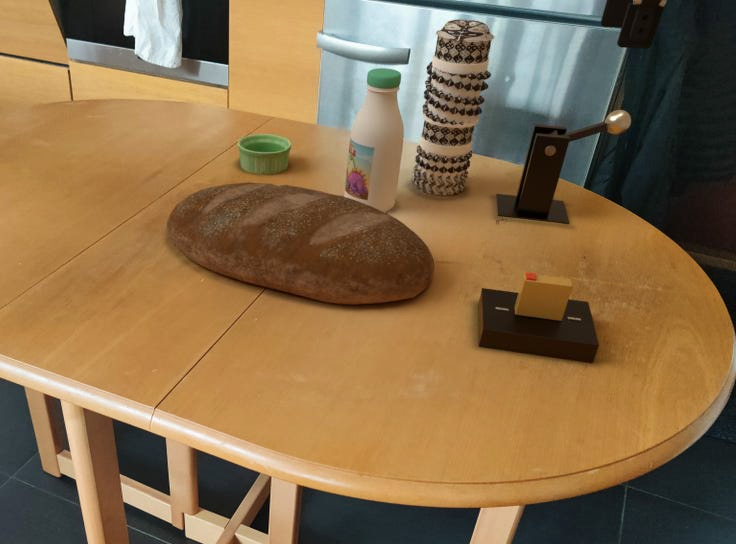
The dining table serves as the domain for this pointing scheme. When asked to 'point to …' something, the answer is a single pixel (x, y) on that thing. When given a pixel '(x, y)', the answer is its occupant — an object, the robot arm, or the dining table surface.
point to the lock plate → (536, 329)
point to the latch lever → (602, 126)
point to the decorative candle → (452, 106)
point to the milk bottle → (376, 143)
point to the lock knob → (543, 296)
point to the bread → (302, 243)
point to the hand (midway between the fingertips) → (623, 36)
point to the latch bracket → (539, 179)
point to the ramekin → (264, 153)
